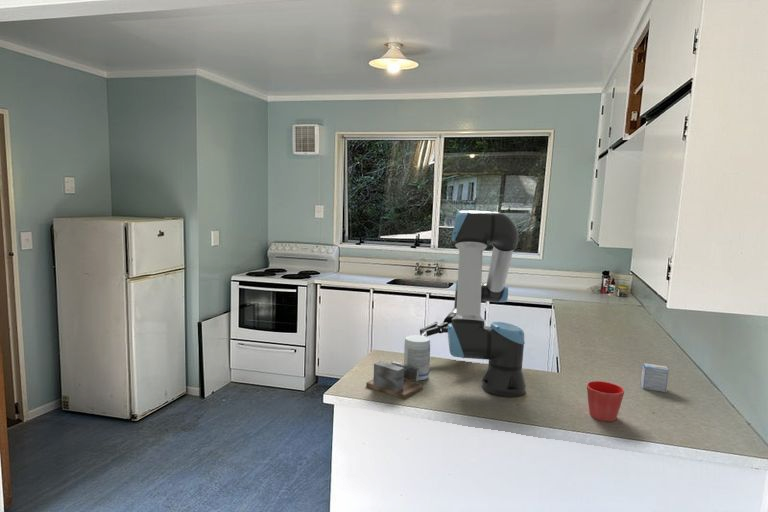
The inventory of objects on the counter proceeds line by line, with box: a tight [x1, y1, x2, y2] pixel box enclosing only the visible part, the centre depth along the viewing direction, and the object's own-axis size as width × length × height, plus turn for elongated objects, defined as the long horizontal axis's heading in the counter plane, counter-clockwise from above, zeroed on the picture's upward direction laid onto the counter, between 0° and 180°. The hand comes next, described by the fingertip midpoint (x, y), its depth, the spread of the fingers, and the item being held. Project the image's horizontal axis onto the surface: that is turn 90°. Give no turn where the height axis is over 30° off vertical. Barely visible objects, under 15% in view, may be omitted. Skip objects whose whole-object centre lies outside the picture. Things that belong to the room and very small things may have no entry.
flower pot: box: [586, 380, 625, 422], centre depth 152 cm, size 11×11×10 cm
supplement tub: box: [403, 334, 431, 381], centre depth 179 cm, size 10×10×15 cm
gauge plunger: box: [390, 360, 420, 383], centre depth 171 cm, size 12×6×4 cm, turn 54°
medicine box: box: [640, 362, 670, 393], centre depth 177 cm, size 8×4×9 cm, turn 71°
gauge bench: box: [365, 360, 424, 400], centre depth 168 cm, size 16×12×9 cm
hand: (435, 344), depth 187 cm, fingers open, 13 cm apart
